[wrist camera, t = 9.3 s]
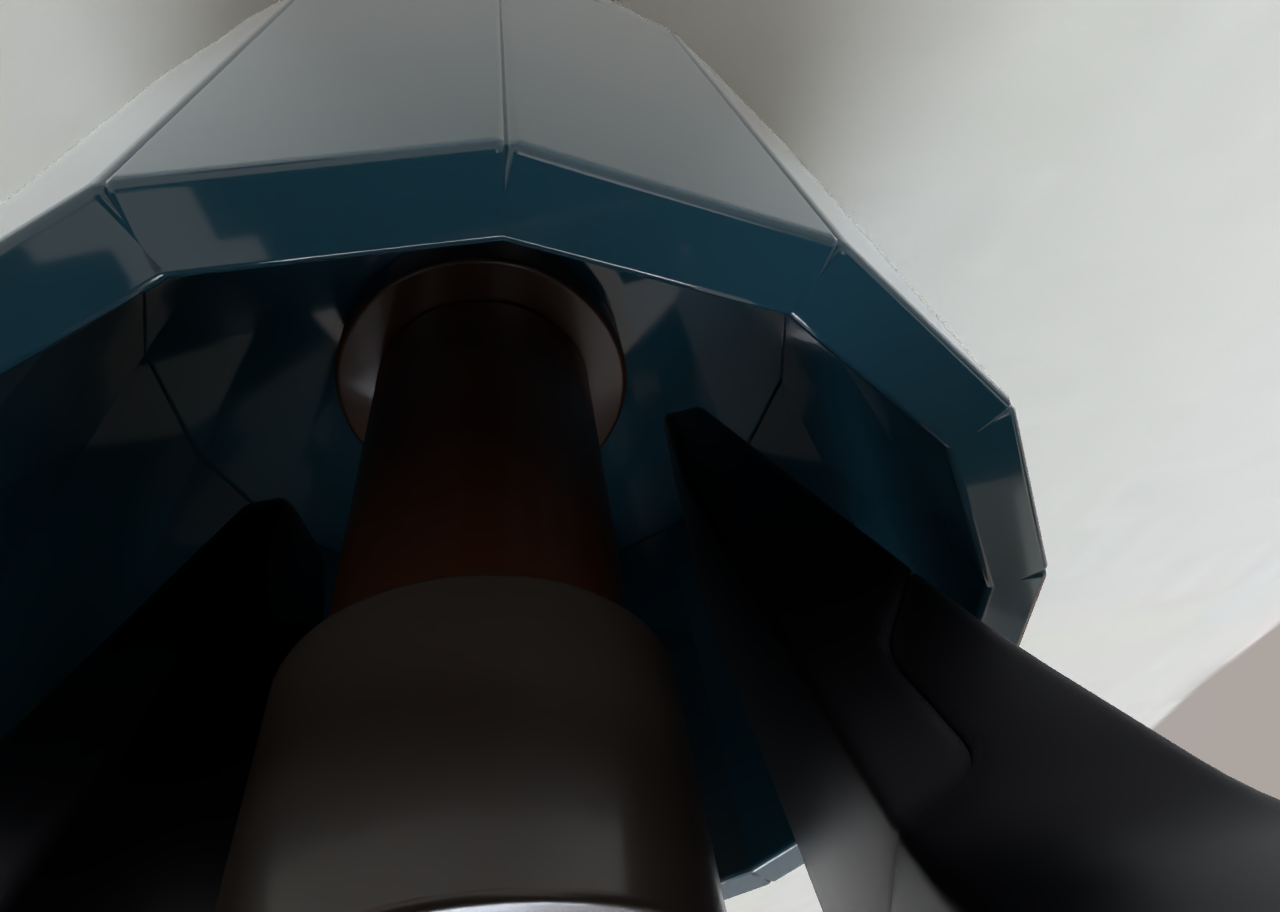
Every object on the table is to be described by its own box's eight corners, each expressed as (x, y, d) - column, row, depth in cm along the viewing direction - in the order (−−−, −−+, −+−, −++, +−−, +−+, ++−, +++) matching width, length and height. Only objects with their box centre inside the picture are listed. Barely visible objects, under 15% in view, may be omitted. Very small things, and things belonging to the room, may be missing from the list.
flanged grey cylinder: (515, 508, 12) (536, 1127, 6) (287, 390, 10) (35, 1105, 5) (676, 343, 11) (885, 946, 5) (445, 173, 9) (361, 813, 3)
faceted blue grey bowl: (547, 637, 15) (571, 1005, 10) (1, 403, 11) (-384, 866, 6) (933, 289, 12) (1231, 611, 7) (359, -285, 7) (104, -474, 2)
